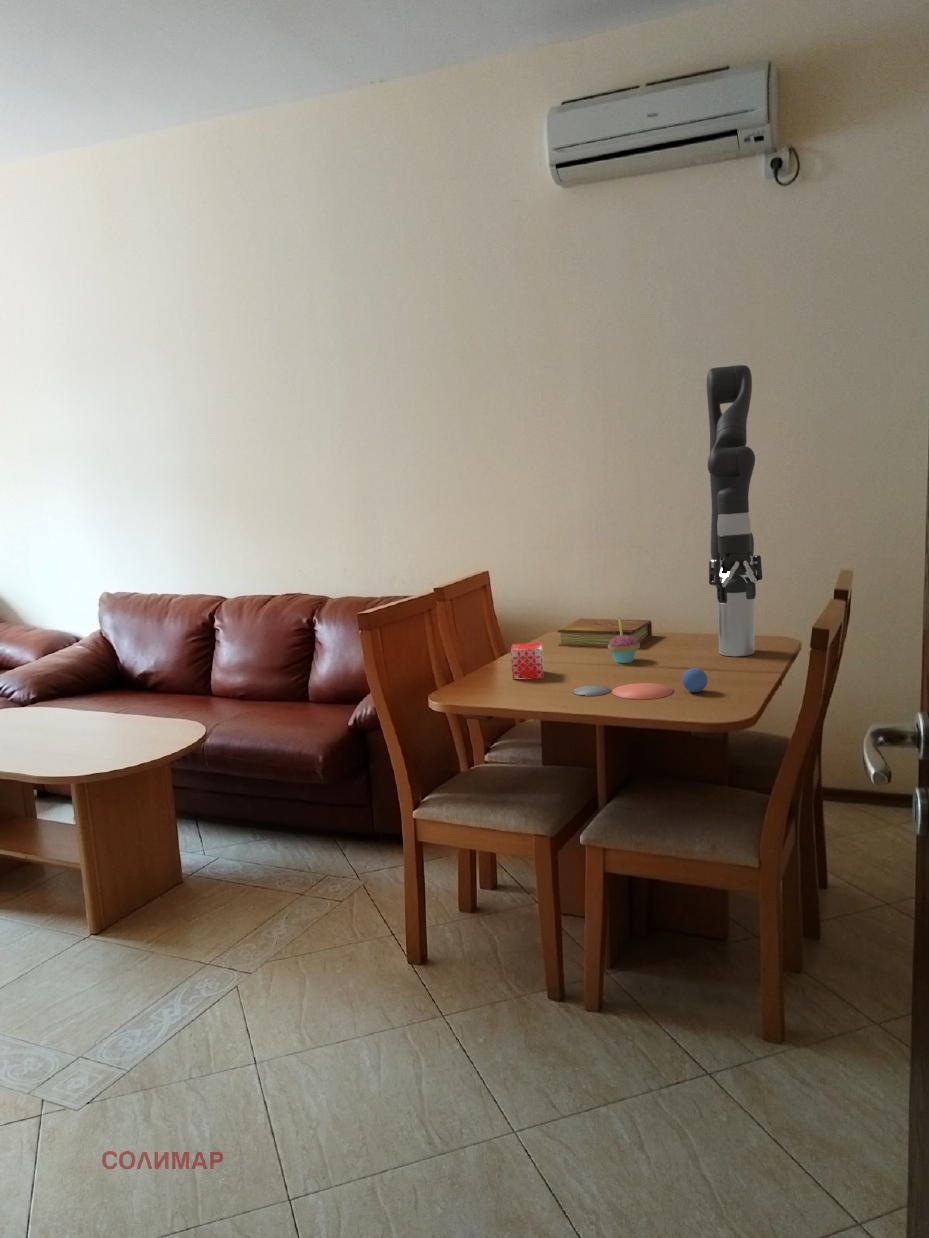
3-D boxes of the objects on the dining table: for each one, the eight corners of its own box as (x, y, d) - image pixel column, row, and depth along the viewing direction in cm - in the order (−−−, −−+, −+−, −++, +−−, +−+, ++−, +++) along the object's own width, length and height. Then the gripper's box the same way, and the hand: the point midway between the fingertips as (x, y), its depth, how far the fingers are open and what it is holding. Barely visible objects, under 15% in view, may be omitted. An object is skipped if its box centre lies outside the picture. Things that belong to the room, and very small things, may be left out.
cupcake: (603, 660, 239) (601, 617, 237) (630, 656, 242) (629, 613, 240) (618, 666, 231) (616, 622, 229) (646, 662, 234) (644, 618, 232)
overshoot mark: (576, 686, 214) (576, 685, 214) (613, 686, 212) (613, 685, 212) (569, 695, 206) (569, 695, 206) (607, 696, 203) (607, 695, 203)
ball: (683, 688, 205) (682, 665, 204) (708, 688, 203) (707, 665, 202) (681, 695, 200) (681, 671, 199) (707, 695, 198) (706, 671, 197)
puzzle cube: (514, 673, 233) (512, 644, 232) (543, 671, 232) (542, 642, 231) (512, 680, 225) (510, 650, 224) (543, 679, 224) (541, 649, 223)
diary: (652, 638, 267) (651, 619, 266) (631, 651, 251) (631, 631, 250) (582, 635, 279) (581, 617, 278) (558, 647, 263) (557, 628, 262)
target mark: (616, 683, 214) (616, 682, 214) (675, 684, 210) (675, 683, 210) (608, 699, 201) (608, 698, 201) (670, 699, 197) (670, 699, 196)
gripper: (745, 531, 213) (748, 597, 214) (699, 535, 207) (702, 603, 208) (768, 530, 206) (771, 598, 208) (721, 534, 200) (724, 605, 202)
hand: (736, 601), depth 208 cm, fingers open, 8 cm apart
